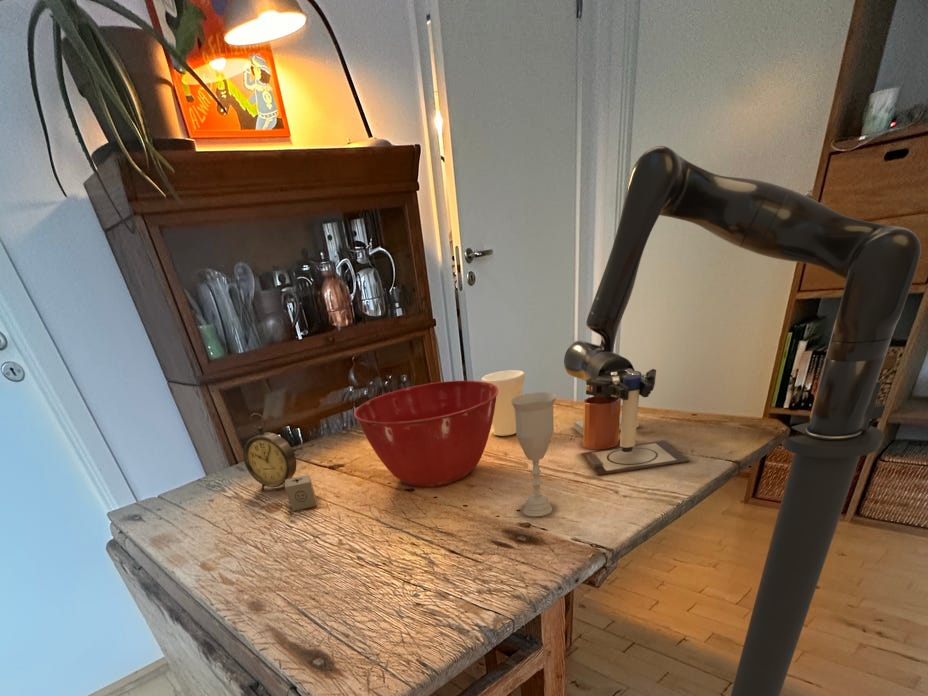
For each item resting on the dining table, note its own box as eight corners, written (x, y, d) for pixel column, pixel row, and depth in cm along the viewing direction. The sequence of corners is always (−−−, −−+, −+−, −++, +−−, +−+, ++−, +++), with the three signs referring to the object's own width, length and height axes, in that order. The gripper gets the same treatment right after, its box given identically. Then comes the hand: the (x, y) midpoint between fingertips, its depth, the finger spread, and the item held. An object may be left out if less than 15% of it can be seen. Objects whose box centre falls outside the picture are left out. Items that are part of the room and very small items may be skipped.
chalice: (562, 515, 86) (561, 400, 75) (521, 521, 86) (515, 407, 75) (552, 499, 92) (550, 390, 81) (514, 505, 92) (507, 397, 81)
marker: (632, 446, 101) (638, 374, 93) (637, 451, 98) (643, 377, 91) (616, 449, 101) (621, 376, 93) (621, 454, 99) (626, 379, 91)
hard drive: (585, 430, 115) (639, 420, 116) (573, 421, 122) (624, 411, 122) (585, 437, 116) (638, 427, 117) (573, 428, 123) (624, 419, 123)
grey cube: (316, 497, 110) (309, 474, 107) (316, 505, 106) (309, 482, 103) (292, 502, 109) (285, 479, 106) (292, 511, 105) (284, 487, 102)
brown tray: (662, 442, 107) (663, 437, 106) (688, 462, 97) (689, 456, 96) (580, 454, 108) (580, 449, 107) (597, 475, 97) (597, 470, 97)
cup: (532, 426, 129) (529, 368, 121) (520, 439, 122) (516, 379, 114) (494, 427, 133) (490, 371, 125) (480, 440, 126) (475, 381, 118)
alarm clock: (254, 493, 118) (226, 418, 108) (266, 484, 122) (241, 411, 112) (296, 491, 114) (271, 414, 105) (307, 482, 118) (284, 407, 109)
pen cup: (612, 436, 114) (614, 392, 109) (623, 446, 108) (625, 400, 103) (579, 441, 115) (579, 398, 109) (587, 451, 109) (588, 406, 103)
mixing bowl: (481, 503, 95) (472, 415, 85) (347, 502, 105) (326, 423, 95) (518, 451, 115) (513, 375, 106) (403, 454, 125) (390, 385, 116)
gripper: (574, 359, 103) (597, 375, 89) (645, 348, 102) (680, 362, 88) (573, 399, 107) (596, 420, 93) (641, 388, 106) (674, 408, 93)
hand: (636, 392), depth 91 cm, fingers closed on marker, 3 cm apart
